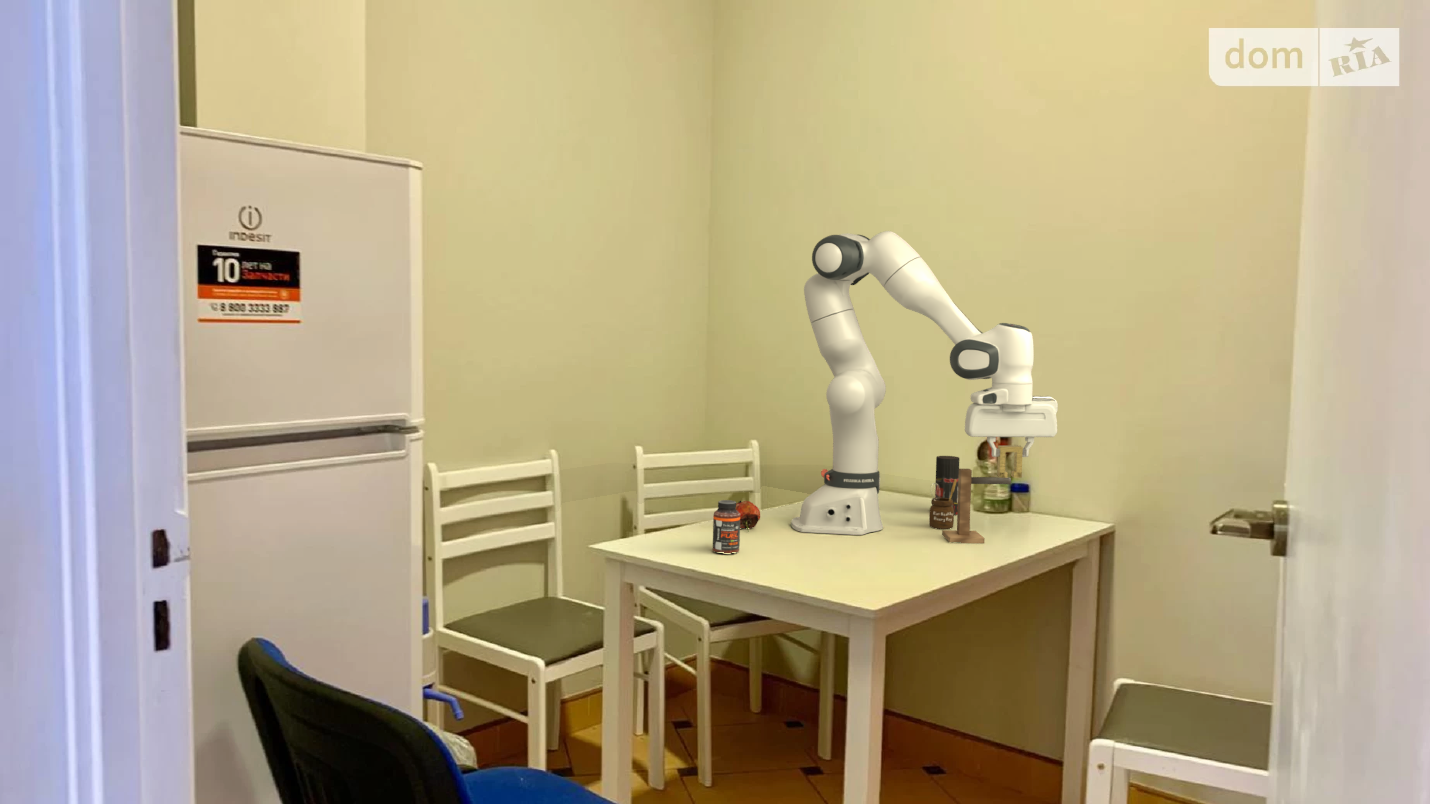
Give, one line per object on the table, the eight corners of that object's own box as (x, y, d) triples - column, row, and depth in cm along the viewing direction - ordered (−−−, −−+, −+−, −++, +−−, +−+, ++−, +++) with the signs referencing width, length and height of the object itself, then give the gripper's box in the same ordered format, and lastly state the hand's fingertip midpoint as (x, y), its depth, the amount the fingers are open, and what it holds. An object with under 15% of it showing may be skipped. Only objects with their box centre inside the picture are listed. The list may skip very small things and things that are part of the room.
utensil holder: (926, 524, 257) (928, 477, 256) (951, 524, 257) (953, 477, 256) (931, 529, 251) (933, 481, 250) (957, 530, 251) (959, 481, 250)
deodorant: (959, 516, 268) (961, 459, 267) (937, 515, 268) (938, 458, 267) (954, 511, 274) (956, 455, 272) (932, 511, 274) (934, 455, 273)
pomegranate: (763, 540, 247) (758, 509, 255) (762, 520, 242) (757, 489, 249) (732, 543, 247) (728, 512, 254) (731, 524, 242) (727, 492, 249)
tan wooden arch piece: (997, 476, 233) (998, 445, 232) (1018, 476, 233) (1020, 445, 232) (999, 477, 231) (1000, 446, 230) (1021, 477, 231) (1022, 446, 230)
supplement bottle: (720, 556, 222) (721, 505, 221) (707, 550, 227) (708, 500, 226) (744, 553, 224) (745, 502, 223) (731, 547, 230) (732, 498, 229)
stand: (949, 542, 237) (952, 471, 236) (942, 535, 245) (944, 466, 243) (1012, 543, 237) (1015, 472, 236) (1002, 535, 245) (1005, 467, 244)
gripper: (1053, 394, 234) (1051, 454, 235) (963, 394, 233) (962, 454, 235) (1062, 397, 227) (1060, 458, 229) (970, 396, 227) (969, 458, 228)
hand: (1009, 456), depth 232 cm, fingers closed on tan wooden arch piece, 5 cm apart
